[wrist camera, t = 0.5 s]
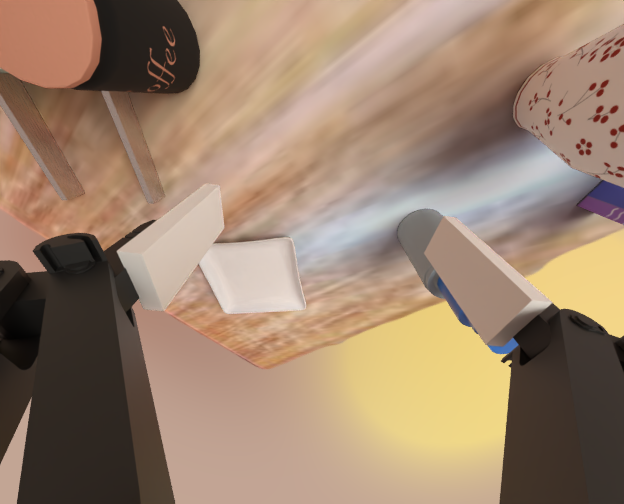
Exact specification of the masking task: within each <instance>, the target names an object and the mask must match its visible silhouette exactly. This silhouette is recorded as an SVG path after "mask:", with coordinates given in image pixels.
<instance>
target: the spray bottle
mask: <svg viewBox="0 0 624 504" xmlns="http://www.w3.org/2000/svg"><path fill="white" fill-rule="evenodd" d="M442 218H443V216H442V215H441V214H440V213H439V212H437V211H435V210H432V209H422V210H417V211H415V212H413V213H411V214H409V215H408V216H407V217H405V218H404V219H403V221H402V222H401V223H400V225H399V228H398V230H397V237H398V239H399V242H400V243H401V245H402V247H403V249H404V250H405V252H406V254H407V256H408V257H409V259H410V261H411V263H412V264H413V266H414V268H415V270H416V271H417V273H418V275H419V277H420V278H421V280H422V282H423V284H424V285H425V287H426V288H427V289H428V290H429V291H430V292H431V293H432V294H433V295H434V296H436V297H439V298H443V299H446V301H447V302H448V304H449V306H450V307H451V309H452V310H453V312H454V313H455V315H456V317H457V318H458V320H459V321H460V322H461V323H462V324H463V325H466V326H468V327H472V329H473V330H474V331H475V332H476V333H477V331H476V330H475V328H474V327H473V325H472V324H471V322H470V321H469V319H468V318H467V316H466V315H465V313H464V312H463V310H462V309H461V308H460V306H459V305H458V303H457V302H456V300H455V299H454V297H453V296H452V294H451V293H450V291H449V290H448V288H447V287H446V285H445V284H444V282H443V281H442V279H441V278H440V276H439V275H438V273H437V272H436V270H435V269H434V267H433V266H432V265H431V263H430V262H429V260H428V259H427V257H426V256H425V254H424V252H425V250H426V248H427V246H428V244H429V243H430V241H431V239H432V237H433V235H434V233H435V231H436V229H437V227H438V226H439V224H440V222H441V220H442ZM477 334H478V333H477ZM518 345H519V344H518V343H517V342H516V341H515V339H514V338H512V339H511V340H510V341H509V342H508V343H507V344H506V345H504V346H503V347H500V346H490V345H488V347H489V348H490V349H491V350H492V352H495V353H497V354H508V353H510V352H511V351H512V350H513V349H514V348H516V347H517V346H518Z"/></svg>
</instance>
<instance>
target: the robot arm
mask: <svg viewBox="0 0 624 504" xmlns="http://www.w3.org/2000/svg"><path fill="white" fill-rule="evenodd" d="M223 229H224V220H223V211H222V201H221V192H220V185H215V184H208V183H205V184H204V185H203V186H201V187H200V188H199V189H197V190H196V191H195V192H194V193H192V194H191V195H190V196H188V197H187V198H186V199H184V200H183V201H182V202H180V203H179V204H178V205H176V206H175V207H174V208H172V209H171V210H170V211H169V212H167V213H166V214H165V215H163V216H162V217H161V218H159V219H158V220H152V221H149V222H147V223H144V224H142V225H140V226H139V227H137V228H136V229H134V230H133V231H132V232H130V233H129V234H127V235H126V236H125V238H122V239H120V240H119V241H118V242H116V243H115V244H113V245H112V246H111V247H109V248H108V249H106V250H105V251H104V252H103V250H102V248H101V246H100V244H99V242H98V240H97V239H96V237H95V236H94V235H91V234H87V233H74V234H66V235H61V236H57V237H54V238H51V239H49V240H46V241H44V242H42V243H40V244H39V245H37V246H36V247H35V249H34V250H33V252H34V254H35V255H36V256H37V257H38V259H39V260H40V262H41V263H42V264H43V266H44V267H45V269H46V270H47V271H45V272H33V273H26V272H25V271H24V270H23V268H22V267H21V266H20V265H19V264H18V263H17V262H14V261H0V464H1V461H2V459H3V457H4V455H5V453H6V451H7V448H8V446H9V444H10V442H11V440H12V438H13V436H14V434H15V431H16V429H17V427H18V425H19V423H20V420H21V418H22V416H23V414H24V412H25V410H26V408H27V405H28V403H29V401H30V399H31V397H32V401H31V407H30V414H29V421H28V428H27V435H26V442H25V449H24V457H23V464H22V471H21V478H20V485H19V492H18V499H17V504H175V500H174V495H173V491H172V486H171V482H170V476H169V472H168V468H167V462H166V459H165V453H164V449H163V444H162V440H161V435H160V430H159V425H158V421H157V417H156V411H155V407H154V402H153V397H152V392H151V388H150V383H149V378H148V374H147V369H146V364H145V360H144V356H143V351H142V346H141V342H140V336H139V332H138V327H137V323H136V318H135V313H134V311H133V309H132V305H133V304H134V303H135V302H136V301H137V300H138V299H139V300H140V303H141V305H142V307H143V309H146V310H156V311H165V309H166V308H167V307H168V305H169V304H170V302H171V301H172V300H173V298H174V297H175V296H176V294H177V293H178V291H179V290H180V289H181V287H182V286H183V285H184V283H185V282H186V280H187V279H188V278H189V276H190V275H191V273H192V272H193V271H194V269H195V268H196V267H197V265H198V264H199V262H200V261H201V260H202V258H203V257H204V255H205V254H206V253H207V251H208V250H209V249H210V247H211V246H212V244H213V243H214V242H215V240H216V239H217V237H218V236H219V235H220V233H221V232H222V231H223ZM424 254H425V256H426V257H427V259H428V260H429V262H430V263H431V265H432V266H433V267H434V269H435V270H436V272H437V273H438V275H439V276H440V278H441V279H442V281H443V282H444V284H445V285H446V287H447V288H448V290H449V291H450V293H451V294H452V296H453V297H454V299H455V300H456V302H457V303H458V305H459V306H460V308H461V309H462V310H463V312H464V313H465V315H466V316H467V318H468V319H469V321H470V322H471V324H472V325H473V327H474V328H475V330H476V331H477V333H478V334H479V336H480V337H481V339H482V340H483V342H484V343H485V344H486V345H490V346H500V347H503V346H504V345H506V344H507V343H508V342H509V341H510V340H511V339H512V338H514V339H515V341H516V342H517V343H518V344H519V345H518V346H517V347H516V348H514V349H513V350H512V351H511V352H510V353H509V354H507V355H506V356H505V357H504V358H503V359H502V360H501V362H503V363H505V362H506V361H507V360H512V363H511V364H510V365H509V367H511V378H510V389H509V400H508V412H507V423H506V424H507V425H506V436H505V447H504V458H503V471H502V482H501V493H500V504H624V336H623V337H621V338H618V337H615V336H612V335H609V334H608V333H607V331H606V330H605V329H604V328H603V327H602V326H601V325H599V324H598V323H597V322H595V321H594V320H592V319H591V318H589V317H587V316H585V315H583V314H581V313H579V312H576V311H573V310H569V309H561V310H560V309H559V308H557V307H556V306H555V305H554V304H553V303H552V302H551V301H550V300H549V299H548V298H547V297H546V296H545V295H543V294H542V293H541V292H540V291H539V290H538V289H537V288H535V287H534V286H533V285H532V284H531V283H530V282H529V281H528V280H526V279H525V278H524V277H523V276H522V275H521V274H520V273H518V272H517V271H516V270H515V269H514V268H513V267H512V266H510V265H509V264H508V263H507V262H506V261H505V260H504V259H502V258H501V257H500V256H499V255H498V254H497V253H496V252H495V251H493V250H492V249H491V248H490V247H489V246H488V245H487V244H485V243H484V242H483V241H482V240H481V239H480V238H479V237H477V236H476V235H475V234H474V233H473V232H472V231H471V230H469V229H468V228H467V227H466V226H465V225H464V224H463V223H461V222H460V221H459V220H458V219H457V218H455V217H448V216H443V218H442V220H441V222H440V224H439V226H438V227H437V229H436V231H435V233H434V235H433V237H432V239H431V241H430V243H429V244H428V246H427V248H426V250H425V252H424Z"/></svg>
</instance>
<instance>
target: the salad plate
mask: <svg viewBox="0 0 624 504" xmlns="http://www.w3.org/2000/svg"><path fill="white" fill-rule="evenodd" d="M199 266H200V268H201V270H202V272H203V273H204V275H205V277H206V279H207V281H208V283H209V284H210V286H211V288H212V290H213V292H214V294H215V296H216V298H217V300H218V302H219V304H220V306H221V308H222V309H223V311H224V312H225V313H226V314H241V313H259V312H278V311H297V310H304V309H305V308H306V301H305V297H304V294H303V290H302V286H301V281H300V277H299V271H298V265H297V258H296V251H295V246H294V242H293V239H292V238H290V237H281V238H272V239H265V240H257V241H247V242H234V243H213V244H212V246H211V247H210V249H209V250H208V251H207V253H206V254H205V255H204V257H203V258H202V260H201V261H200V262H199Z"/></svg>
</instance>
